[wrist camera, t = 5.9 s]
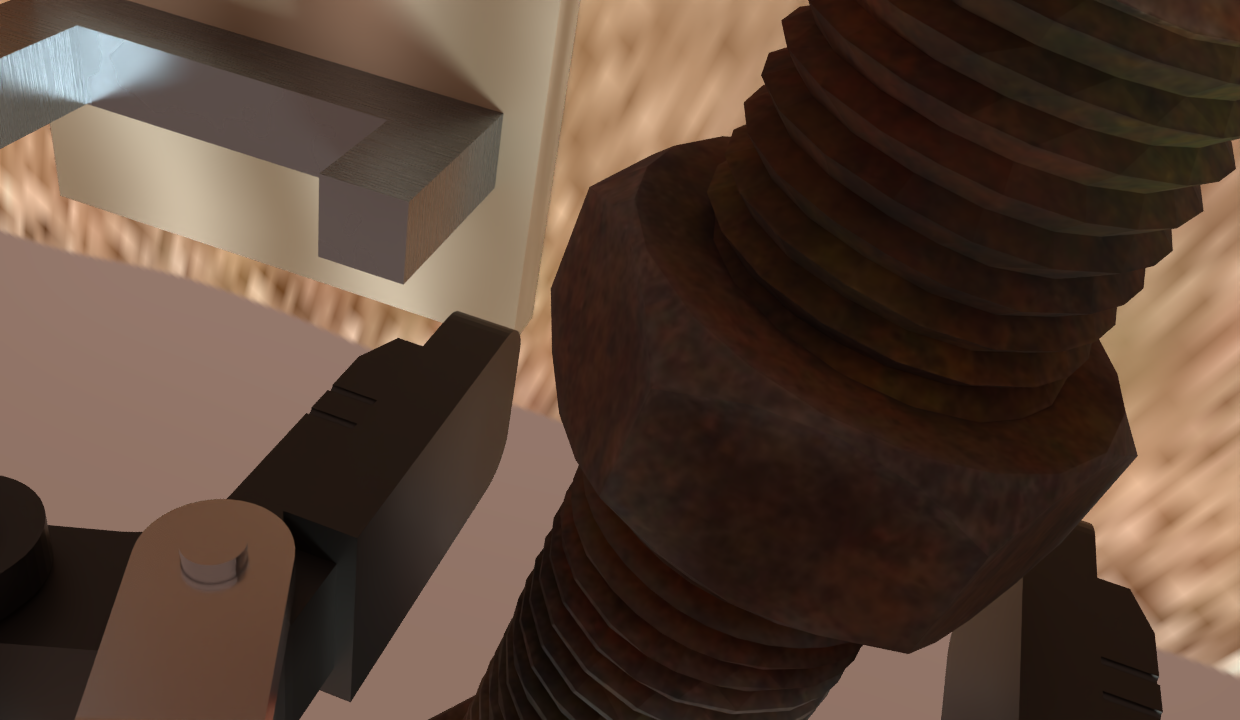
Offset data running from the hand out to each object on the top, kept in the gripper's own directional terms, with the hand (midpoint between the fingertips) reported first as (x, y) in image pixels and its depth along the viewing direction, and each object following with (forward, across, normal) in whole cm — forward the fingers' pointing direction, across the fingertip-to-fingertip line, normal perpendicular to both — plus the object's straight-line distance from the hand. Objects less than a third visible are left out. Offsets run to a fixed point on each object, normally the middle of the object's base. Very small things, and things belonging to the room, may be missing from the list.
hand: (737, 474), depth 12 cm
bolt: (+1, 0, 0) cm, 1 cm away
